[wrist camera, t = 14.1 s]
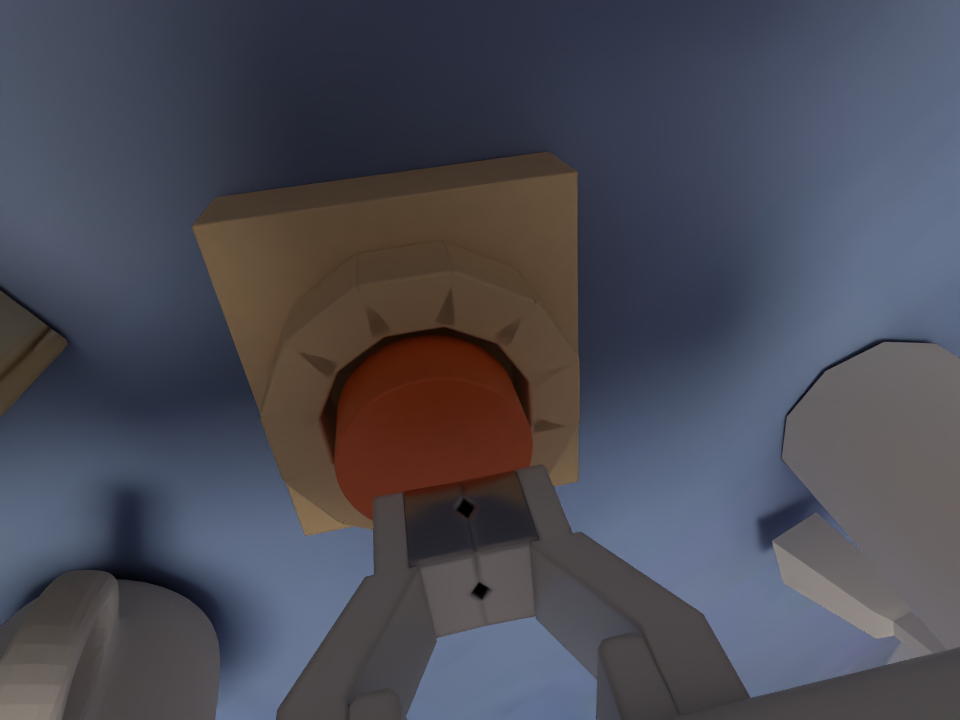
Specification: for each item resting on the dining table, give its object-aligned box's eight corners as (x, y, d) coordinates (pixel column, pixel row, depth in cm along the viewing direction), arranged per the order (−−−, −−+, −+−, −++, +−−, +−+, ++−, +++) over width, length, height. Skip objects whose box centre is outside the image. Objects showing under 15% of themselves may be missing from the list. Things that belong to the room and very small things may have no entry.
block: (214, 196, 13) (164, 257, 10) (549, 150, 14) (608, 192, 11) (310, 482, 18) (298, 591, 15) (557, 436, 19) (600, 528, 15)
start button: (317, 351, 12) (311, 399, 10) (508, 319, 12) (529, 361, 11) (357, 493, 14) (357, 550, 12) (519, 462, 14) (538, 513, 13)
